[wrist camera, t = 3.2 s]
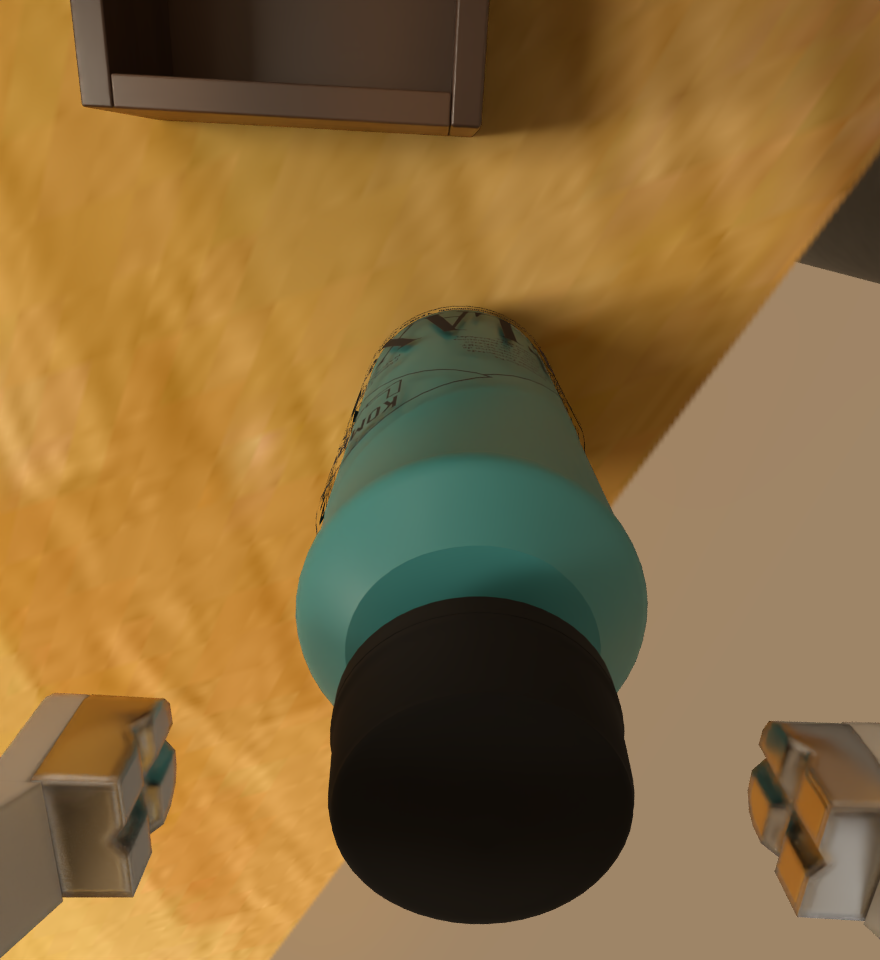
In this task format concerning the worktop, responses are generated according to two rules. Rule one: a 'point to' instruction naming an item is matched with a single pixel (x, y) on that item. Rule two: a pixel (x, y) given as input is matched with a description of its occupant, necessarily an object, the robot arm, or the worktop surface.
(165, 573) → the worktop surface
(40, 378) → the worktop surface
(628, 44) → the worktop surface
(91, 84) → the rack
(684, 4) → the worktop surface
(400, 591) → the beverage bottle
